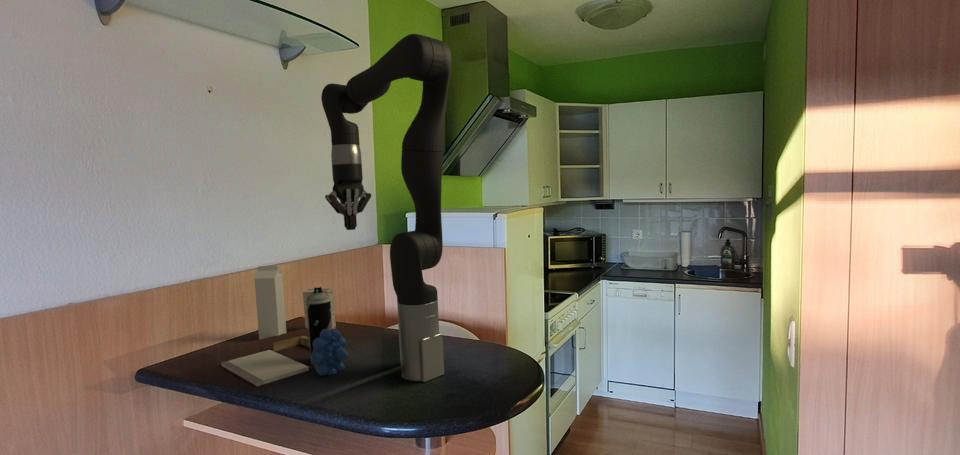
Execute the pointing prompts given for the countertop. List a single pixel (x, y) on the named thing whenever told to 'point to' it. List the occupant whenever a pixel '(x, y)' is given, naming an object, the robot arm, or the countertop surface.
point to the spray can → (318, 315)
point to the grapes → (329, 352)
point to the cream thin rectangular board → (264, 367)
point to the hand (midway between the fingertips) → (351, 229)
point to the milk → (270, 302)
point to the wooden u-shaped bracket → (294, 344)
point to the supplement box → (330, 292)
